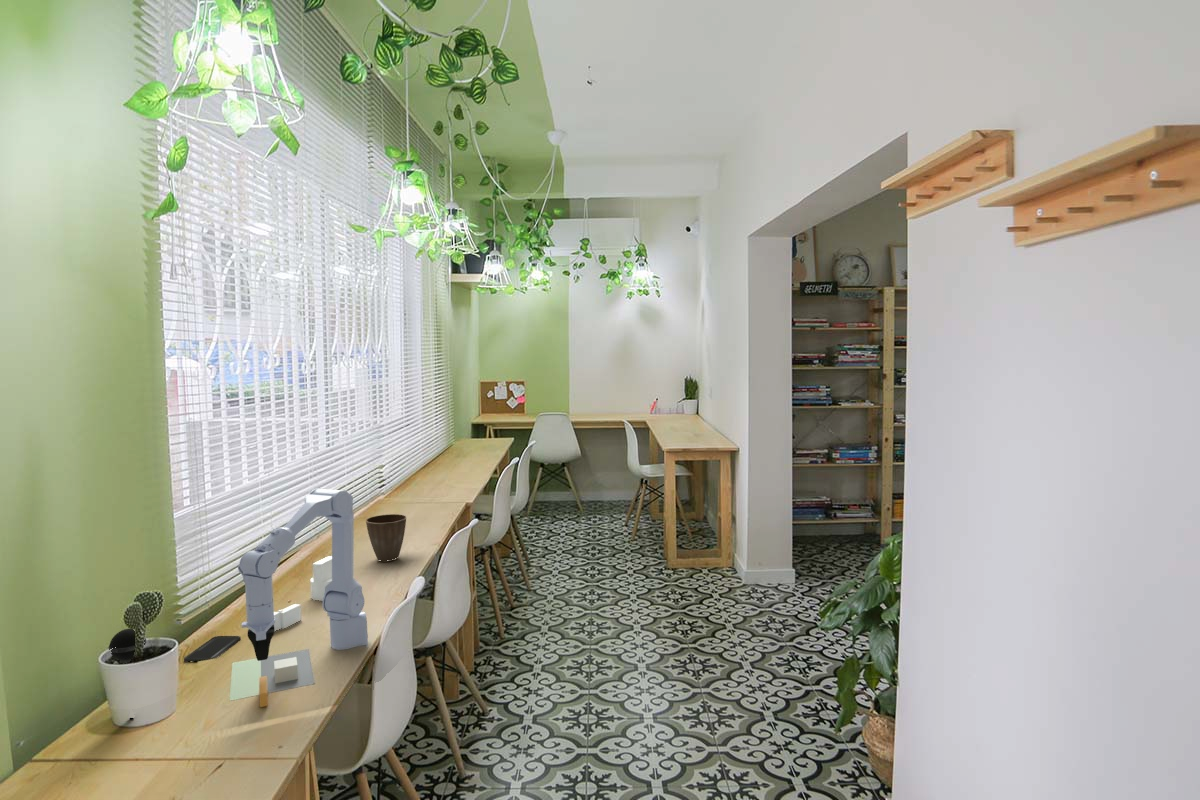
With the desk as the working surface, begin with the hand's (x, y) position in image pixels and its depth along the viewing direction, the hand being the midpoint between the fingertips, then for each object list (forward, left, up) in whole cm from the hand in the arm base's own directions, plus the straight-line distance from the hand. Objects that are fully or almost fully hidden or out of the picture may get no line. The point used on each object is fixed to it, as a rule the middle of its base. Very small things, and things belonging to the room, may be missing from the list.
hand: (262, 659), depth 164 cm
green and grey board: (-2, -8, -8) cm, 12 cm away
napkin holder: (-4, -42, -9) cm, 43 cm away
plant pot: (-44, -97, -8) cm, 107 cm away
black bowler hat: (+26, 0, -8) cm, 27 cm away
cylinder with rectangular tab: (-19, -64, -8) cm, 67 cm away
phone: (+12, -33, -9) cm, 36 cm away
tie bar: (0, +6, -7) cm, 9 cm away
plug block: (-5, -4, -7) cm, 10 cm away
